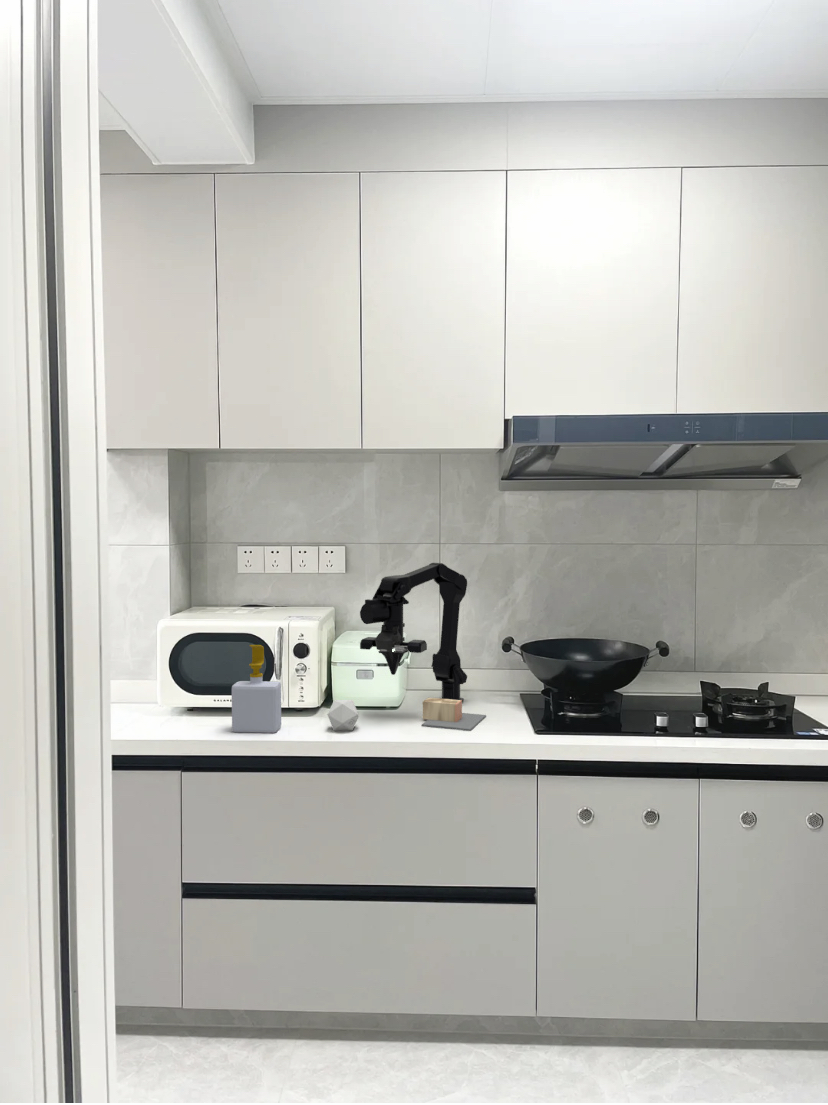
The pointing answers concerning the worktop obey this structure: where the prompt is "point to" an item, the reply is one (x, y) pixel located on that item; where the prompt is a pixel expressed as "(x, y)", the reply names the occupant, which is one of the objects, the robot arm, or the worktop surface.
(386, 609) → the robot arm
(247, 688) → the soap bottle
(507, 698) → the worktop surface
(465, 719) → the mat
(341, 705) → the die
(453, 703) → the pine block
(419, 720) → the worktop surface
